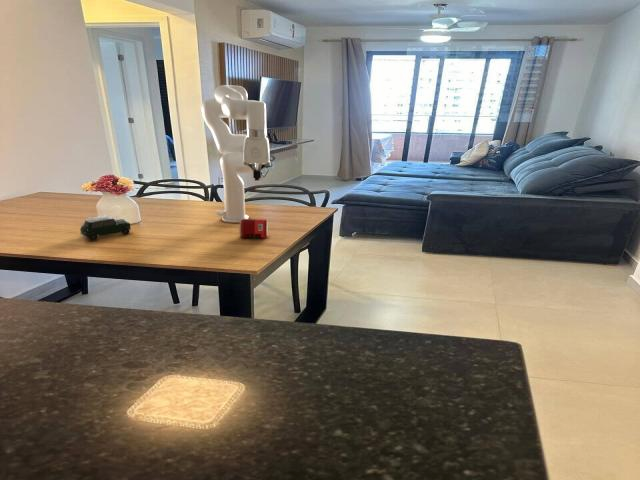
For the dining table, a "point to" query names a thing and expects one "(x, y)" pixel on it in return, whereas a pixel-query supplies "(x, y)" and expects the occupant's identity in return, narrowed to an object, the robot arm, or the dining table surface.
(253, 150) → the robot arm
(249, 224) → the canned food
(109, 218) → the miniature car
